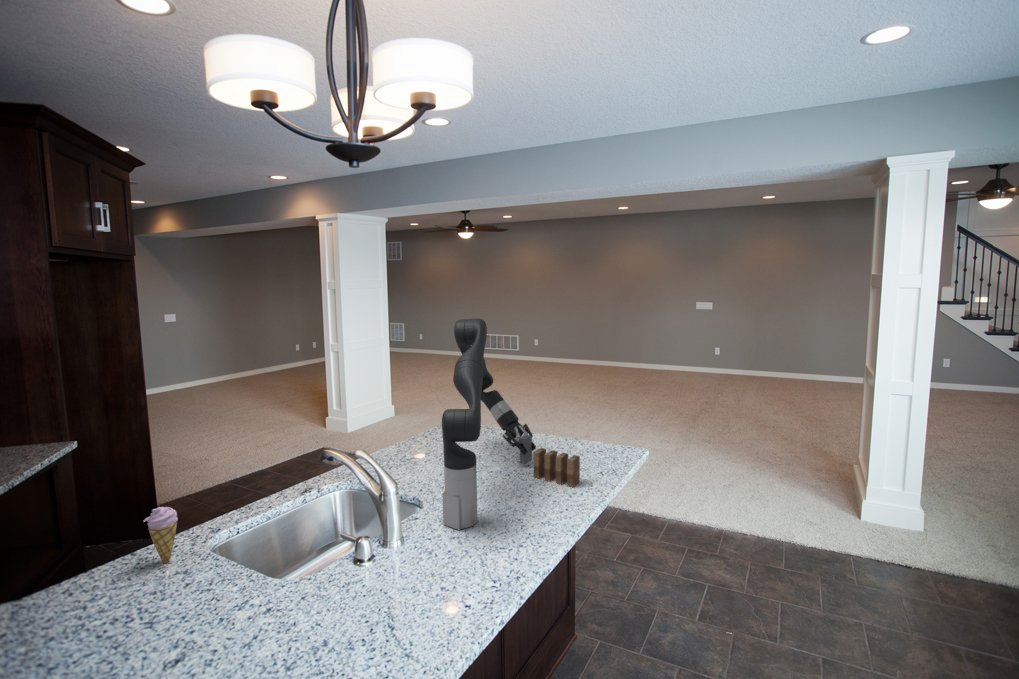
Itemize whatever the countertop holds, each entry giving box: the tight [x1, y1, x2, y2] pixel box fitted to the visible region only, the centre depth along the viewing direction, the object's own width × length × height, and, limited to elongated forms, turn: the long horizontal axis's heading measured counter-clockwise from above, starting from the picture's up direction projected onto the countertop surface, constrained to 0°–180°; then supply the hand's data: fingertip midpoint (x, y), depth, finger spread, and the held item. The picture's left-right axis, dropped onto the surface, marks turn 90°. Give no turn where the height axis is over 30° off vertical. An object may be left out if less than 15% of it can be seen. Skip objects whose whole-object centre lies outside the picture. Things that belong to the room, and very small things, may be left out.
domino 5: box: [566, 454, 581, 489], centre depth 174 cm, size 5×2×10 cm, turn 144°
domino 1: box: [519, 434, 533, 465], centre depth 192 cm, size 5×2×10 cm, turn 144°
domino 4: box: [555, 452, 569, 485], centre depth 176 cm, size 5×2×10 cm, turn 144°
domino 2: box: [533, 447, 547, 480], centre depth 181 cm, size 5×2×10 cm, turn 144°
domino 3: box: [544, 449, 558, 483], centre depth 179 cm, size 5×2×10 cm, turn 144°
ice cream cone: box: [143, 506, 179, 564], centre depth 128 cm, size 7×6×15 cm
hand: (530, 451), depth 191 cm, fingers closed on domino 1, 5 cm apart
